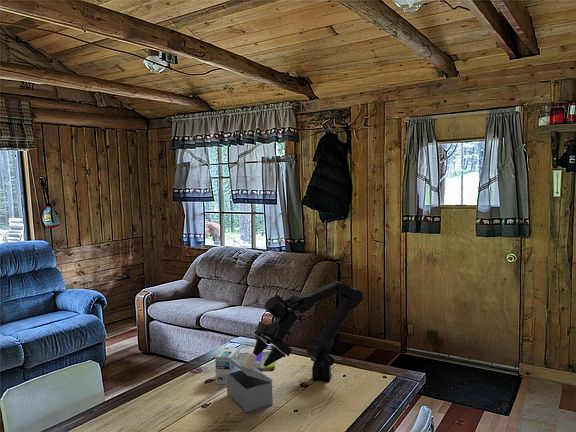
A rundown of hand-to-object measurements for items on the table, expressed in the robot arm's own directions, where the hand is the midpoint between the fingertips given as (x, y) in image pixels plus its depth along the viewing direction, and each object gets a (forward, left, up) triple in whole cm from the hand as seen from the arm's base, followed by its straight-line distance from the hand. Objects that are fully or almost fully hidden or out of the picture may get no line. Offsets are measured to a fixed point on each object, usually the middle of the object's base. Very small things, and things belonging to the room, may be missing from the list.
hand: (258, 361), depth 162 cm
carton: (+3, +3, -13) cm, 14 cm away
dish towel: (+15, -28, -14) cm, 35 cm away
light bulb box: (+17, -12, -13) cm, 25 cm away
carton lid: (+2, +3, -2) cm, 4 cm away
